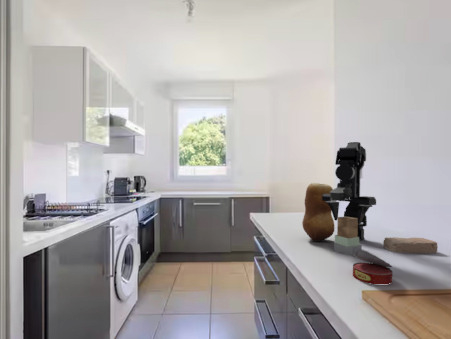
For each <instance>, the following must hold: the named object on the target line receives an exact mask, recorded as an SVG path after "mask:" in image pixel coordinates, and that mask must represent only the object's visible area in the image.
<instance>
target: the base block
mask: <svg viewBox="0 0 451 339" xmlns="http://www.w3.org/2000/svg"><path fill="white" fill-rule="evenodd" d="M362 248H363V245H362V244H359V245H358V246H349V247H347V246H343V245H340V244H337V243H335V242H334V244H333V250H334V251H335V252H338V253H343V254H345V255H350V256H354V255H353V251H354V250H355V249H362ZM362 250H363V249H362Z"/></svg>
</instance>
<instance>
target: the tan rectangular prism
mask: <svg viewBox="0 0 451 339" xmlns="http://www.w3.org/2000/svg"><path fill="white" fill-rule="evenodd" d="M336 228H337V232H336V233H337V234H336V235H337V236H341V237H345V238H355V237H357V236H358V218H352V217H344V216H338V218H337V227H336Z"/></svg>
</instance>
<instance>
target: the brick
mask: <svg viewBox="0 0 451 339" xmlns="http://www.w3.org/2000/svg"><path fill="white" fill-rule="evenodd" d="M383 248H385V249H387V250H389V251H390V252H392V253H407V254H409V253H410V254H411V253H413V254H436V253H437V252H438V242H437V241H434V240H433V239H428V238H425V237H391V236H390V237H387V236H386V237H384V239H383Z"/></svg>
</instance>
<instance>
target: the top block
mask: <svg viewBox="0 0 451 339" xmlns="http://www.w3.org/2000/svg"><path fill="white" fill-rule="evenodd" d="M334 243H337V244H340V245H343V246H347V247H349V246H358V245H360V240H359V237H355V238H345V237H341V236H337V234H335V235H334Z"/></svg>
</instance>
